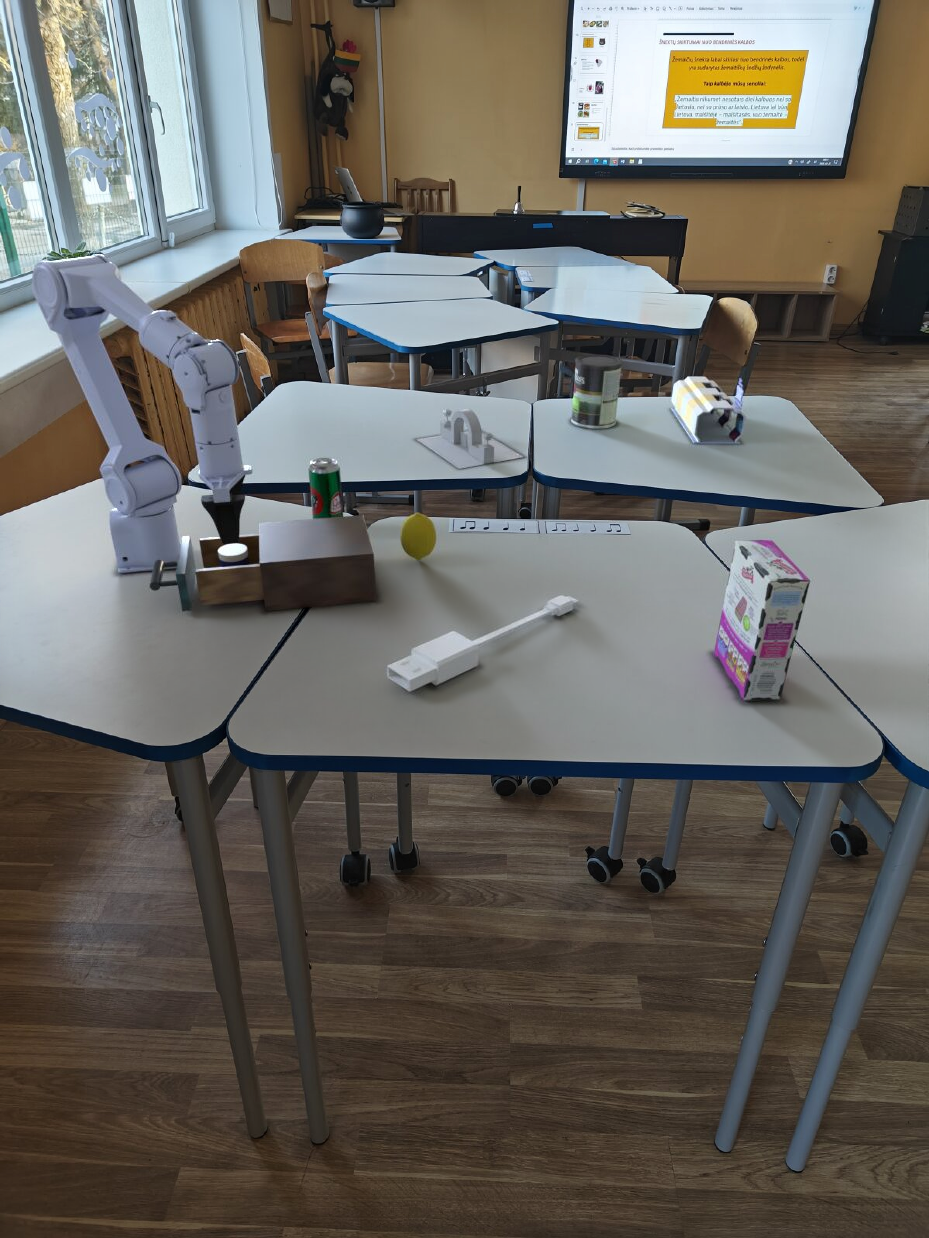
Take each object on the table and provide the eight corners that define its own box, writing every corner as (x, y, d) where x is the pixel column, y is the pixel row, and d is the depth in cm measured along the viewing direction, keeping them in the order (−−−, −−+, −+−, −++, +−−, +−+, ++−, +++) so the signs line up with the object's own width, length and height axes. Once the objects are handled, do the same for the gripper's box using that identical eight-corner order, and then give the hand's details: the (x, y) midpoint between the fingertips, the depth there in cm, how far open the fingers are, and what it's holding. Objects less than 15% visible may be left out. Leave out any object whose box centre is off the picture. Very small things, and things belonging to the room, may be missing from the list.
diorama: (741, 443, 184) (751, 383, 177) (693, 443, 184) (702, 382, 177) (713, 409, 205) (722, 354, 199) (670, 409, 205) (677, 353, 199)
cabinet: (265, 611, 120) (259, 563, 116) (264, 568, 132) (258, 523, 128) (376, 600, 123) (373, 553, 119) (365, 559, 135) (363, 515, 131)
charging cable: (585, 616, 122) (588, 595, 120) (411, 699, 102) (412, 675, 100) (559, 603, 125) (561, 582, 123) (385, 681, 105) (385, 658, 103)
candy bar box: (783, 701, 103) (813, 580, 94) (743, 702, 102) (769, 581, 94) (749, 651, 112) (773, 537, 104) (712, 652, 112) (733, 538, 104)
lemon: (423, 571, 131) (422, 523, 127) (394, 562, 134) (392, 515, 130) (443, 557, 135) (442, 511, 131) (414, 549, 138) (413, 503, 134)
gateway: (493, 461, 173) (494, 423, 169) (483, 463, 172) (484, 424, 168) (449, 434, 188) (449, 397, 184) (440, 435, 187) (440, 399, 183)
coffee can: (576, 429, 191) (581, 366, 184) (566, 416, 200) (571, 354, 193) (621, 428, 192) (628, 365, 185) (609, 414, 201) (615, 353, 194)
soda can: (338, 537, 141) (333, 468, 135) (309, 534, 142) (303, 466, 136) (348, 525, 146) (343, 458, 140) (319, 522, 146) (314, 455, 140)
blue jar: (221, 587, 122) (217, 557, 120) (222, 574, 126) (218, 544, 123) (251, 584, 123) (247, 554, 120) (251, 571, 126) (247, 542, 124)
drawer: (151, 614, 117) (143, 577, 114) (159, 573, 128) (152, 538, 125) (288, 601, 121) (284, 565, 118) (285, 562, 131) (282, 528, 128)
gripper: (247, 453, 108) (260, 550, 115) (247, 420, 121) (259, 509, 127) (189, 457, 107) (206, 555, 114) (196, 423, 119) (211, 514, 126)
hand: (231, 531), depth 121 cm, fingers open, 7 cm apart
